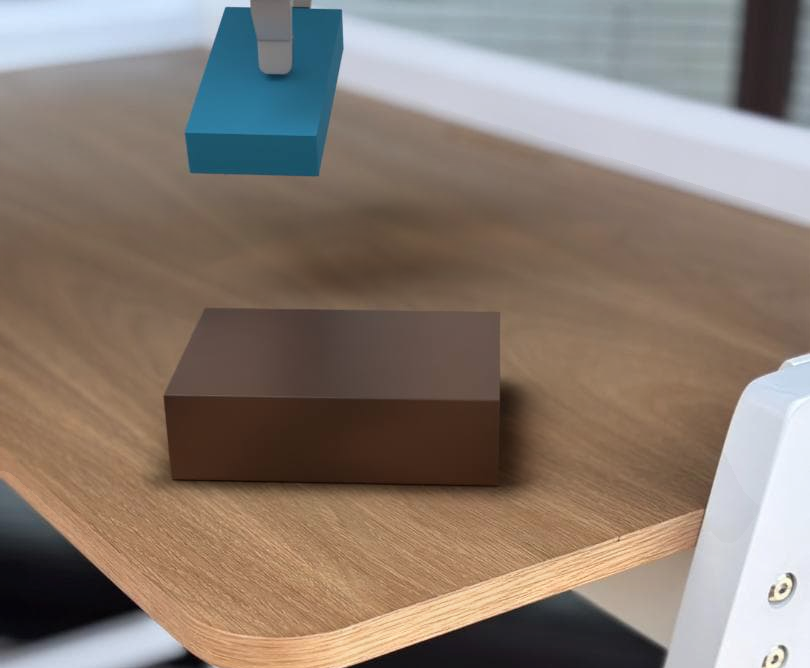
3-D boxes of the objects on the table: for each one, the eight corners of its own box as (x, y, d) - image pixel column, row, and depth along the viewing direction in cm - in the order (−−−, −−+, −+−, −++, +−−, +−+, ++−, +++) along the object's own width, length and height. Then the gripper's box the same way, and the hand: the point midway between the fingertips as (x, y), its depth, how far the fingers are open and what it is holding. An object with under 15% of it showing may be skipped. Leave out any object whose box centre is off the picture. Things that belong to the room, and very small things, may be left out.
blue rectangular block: (322, 250, 82) (351, 88, 95) (316, 136, 77) (347, -19, 90) (198, 246, 83) (244, 85, 95) (184, 132, 78) (234, -22, 90)
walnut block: (170, 479, 64) (162, 394, 62) (210, 384, 73) (204, 307, 71) (497, 486, 64) (499, 400, 62) (497, 389, 72) (500, 311, 70)
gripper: (247, -228, 88) (257, 18, 94) (183, -205, 70) (201, 96, 77) (354, -227, 87) (356, 20, 94) (318, -203, 70) (323, 98, 76)
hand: (286, 54), depth 85 cm, fingers closed on blue rectangular block, 7 cm apart
